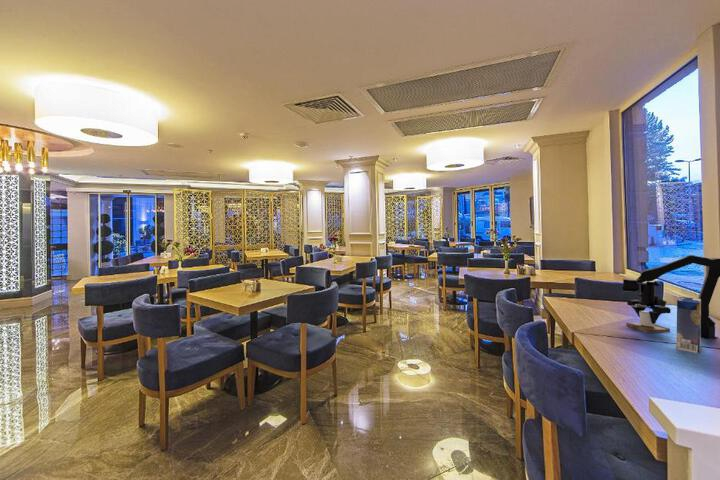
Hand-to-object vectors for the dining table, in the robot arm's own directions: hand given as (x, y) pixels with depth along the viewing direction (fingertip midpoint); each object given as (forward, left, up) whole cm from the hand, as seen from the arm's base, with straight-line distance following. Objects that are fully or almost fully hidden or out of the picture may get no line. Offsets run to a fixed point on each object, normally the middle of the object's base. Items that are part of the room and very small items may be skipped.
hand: (647, 322), depth 163 cm
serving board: (0, 0, -4) cm, 4 cm away
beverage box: (-26, +7, -4) cm, 27 cm away
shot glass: (0, 0, -2) cm, 2 cm away
